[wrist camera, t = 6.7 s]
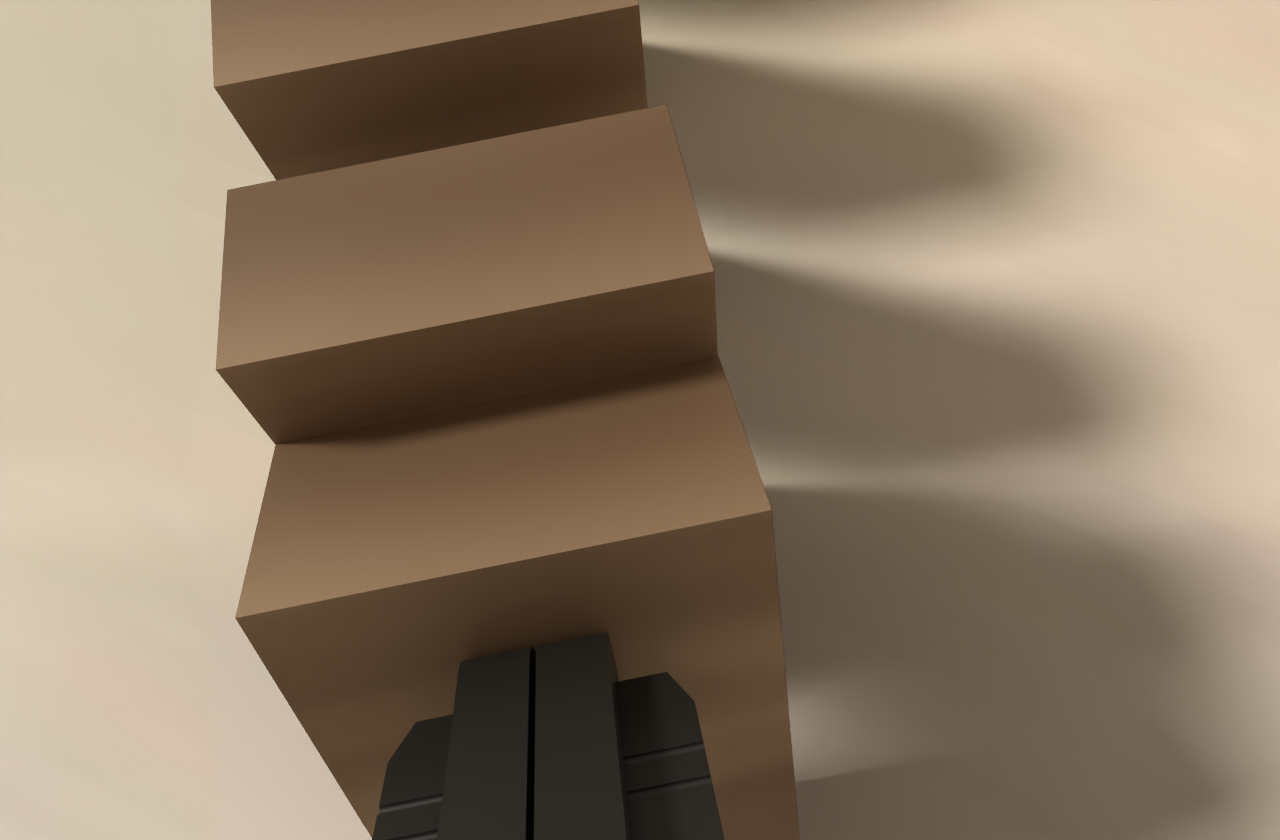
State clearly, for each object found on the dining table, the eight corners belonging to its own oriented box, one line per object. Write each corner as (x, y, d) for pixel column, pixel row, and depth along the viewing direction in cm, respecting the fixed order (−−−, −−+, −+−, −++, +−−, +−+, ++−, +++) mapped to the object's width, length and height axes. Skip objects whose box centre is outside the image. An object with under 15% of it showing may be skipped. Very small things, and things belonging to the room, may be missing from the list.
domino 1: (666, 344, 20) (639, 4, 12) (419, 394, 20) (214, 87, 12) (643, 239, 21) (601, -146, 13) (407, 286, 21) (208, -70, 12)
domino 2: (728, 604, 18) (713, 271, 10) (448, 662, 17) (215, 369, 10) (699, 482, 19) (665, 103, 11) (438, 534, 19) (227, 189, 11)
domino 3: (807, 938, 15) (771, 510, 9) (476, 1007, 15) (235, 618, 9) (768, 786, 17) (718, 356, 11) (475, 847, 17) (276, 444, 11)
